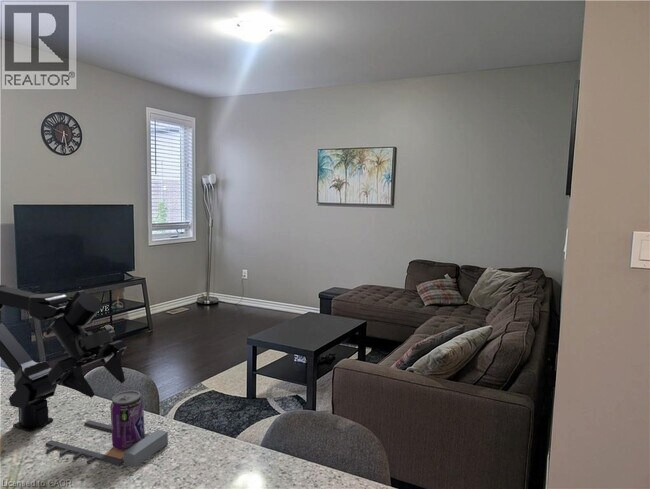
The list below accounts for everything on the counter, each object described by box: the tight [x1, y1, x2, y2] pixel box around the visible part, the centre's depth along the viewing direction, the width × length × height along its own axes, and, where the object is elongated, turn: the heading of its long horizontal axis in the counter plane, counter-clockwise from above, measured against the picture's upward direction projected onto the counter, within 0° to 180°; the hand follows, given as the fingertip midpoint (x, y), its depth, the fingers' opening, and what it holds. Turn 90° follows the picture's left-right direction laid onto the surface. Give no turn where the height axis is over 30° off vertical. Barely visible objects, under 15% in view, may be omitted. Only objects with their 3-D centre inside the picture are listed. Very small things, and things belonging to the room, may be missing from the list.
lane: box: [45, 419, 169, 469], centre depth 109 cm, size 26×14×3 cm, turn 70°
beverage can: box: [109, 390, 146, 450], centre depth 108 cm, size 7×7×12 cm
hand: (108, 388), depth 109 cm, fingers open, 9 cm apart
